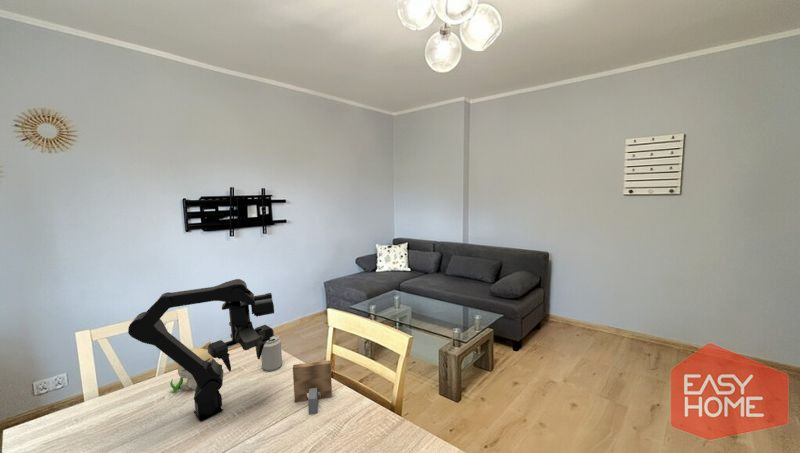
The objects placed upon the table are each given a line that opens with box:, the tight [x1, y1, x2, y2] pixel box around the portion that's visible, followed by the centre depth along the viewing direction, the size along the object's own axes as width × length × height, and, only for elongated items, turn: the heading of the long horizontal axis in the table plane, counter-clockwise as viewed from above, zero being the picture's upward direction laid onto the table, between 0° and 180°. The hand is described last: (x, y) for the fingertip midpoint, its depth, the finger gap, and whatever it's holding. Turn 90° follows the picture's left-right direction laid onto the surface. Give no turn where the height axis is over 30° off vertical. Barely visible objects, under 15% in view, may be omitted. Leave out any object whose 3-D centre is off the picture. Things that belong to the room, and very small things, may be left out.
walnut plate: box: [292, 360, 333, 403], centre depth 109 cm, size 12×2×12 cm, turn 102°
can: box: [260, 334, 283, 372], centre depth 128 cm, size 8×8×12 cm
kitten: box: [169, 340, 220, 393], centre depth 117 cm, size 15×10×15 cm
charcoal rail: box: [307, 388, 320, 415], centre depth 108 cm, size 14×2×5 cm, turn 12°
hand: (244, 364), depth 107 cm, fingers open, 9 cm apart
